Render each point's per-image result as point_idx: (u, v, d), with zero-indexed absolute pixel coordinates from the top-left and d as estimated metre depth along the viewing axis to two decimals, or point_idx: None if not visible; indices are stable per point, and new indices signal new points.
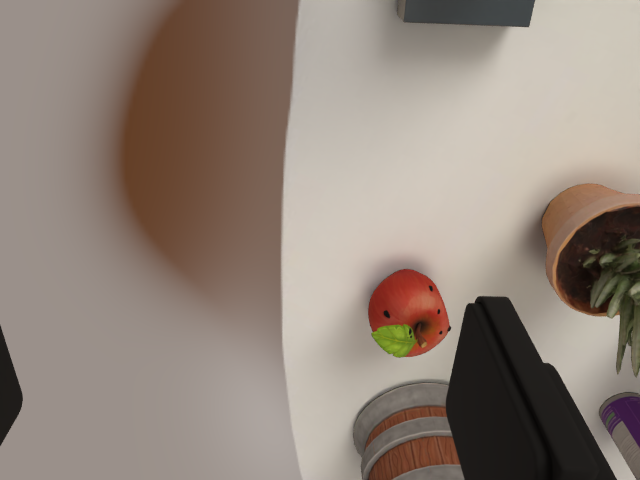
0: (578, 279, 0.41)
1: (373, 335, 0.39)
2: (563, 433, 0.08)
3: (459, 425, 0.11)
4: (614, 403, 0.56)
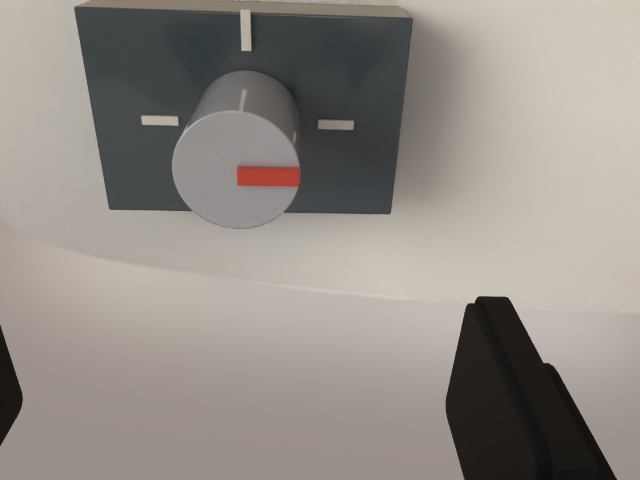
0: None
1: None
2: (563, 433, 0.08)
3: (459, 425, 0.11)
4: None
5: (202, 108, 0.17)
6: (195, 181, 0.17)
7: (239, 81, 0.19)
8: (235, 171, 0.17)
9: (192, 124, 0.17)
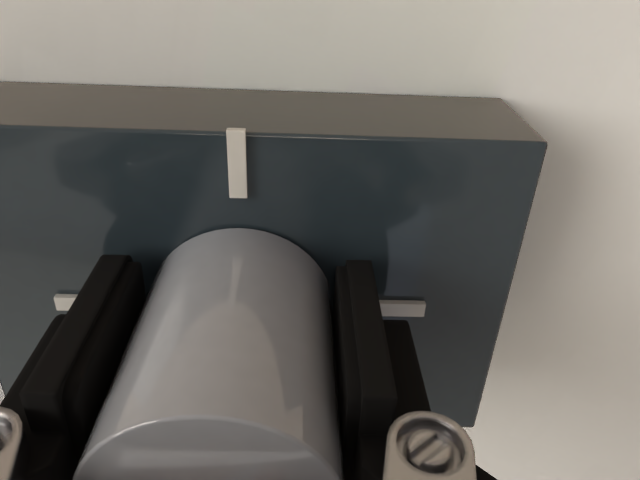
0: None
1: None
2: (376, 369, 0.09)
3: None
4: None
5: (140, 365, 0.08)
6: None
7: (223, 272, 0.10)
8: None
9: (108, 436, 0.07)
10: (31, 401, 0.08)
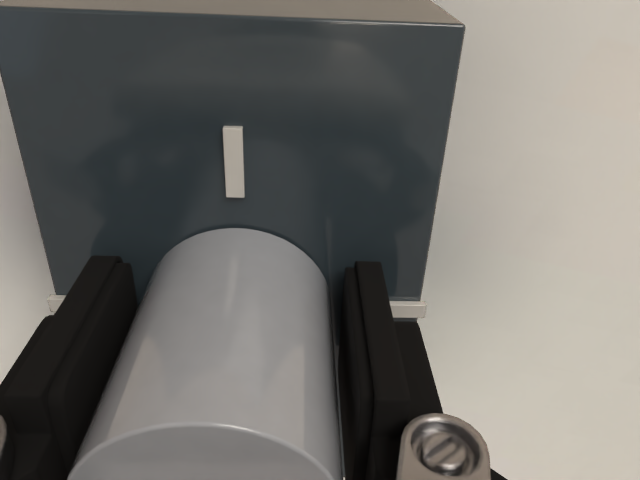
0: None
1: None
2: (389, 371, 0.08)
3: (341, 381, 0.12)
4: None
5: (130, 372, 0.08)
6: None
7: (215, 273, 0.10)
8: None
9: (97, 446, 0.07)
10: (16, 403, 0.08)
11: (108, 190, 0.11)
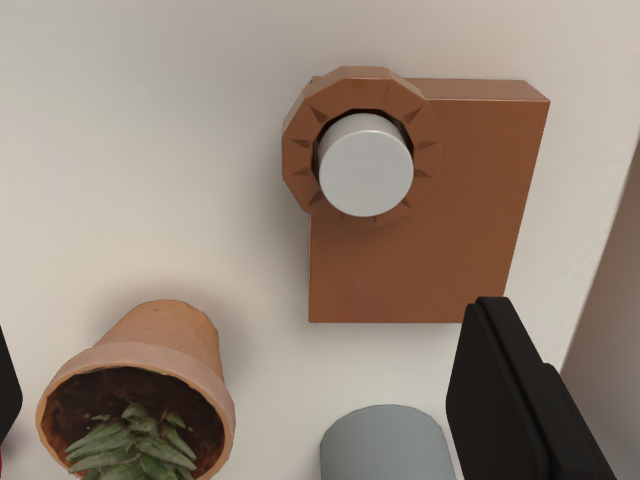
0: None
1: None
2: (564, 433, 0.08)
3: (459, 425, 0.11)
4: None
5: None
6: None
7: None
8: None
9: None
10: None
11: None
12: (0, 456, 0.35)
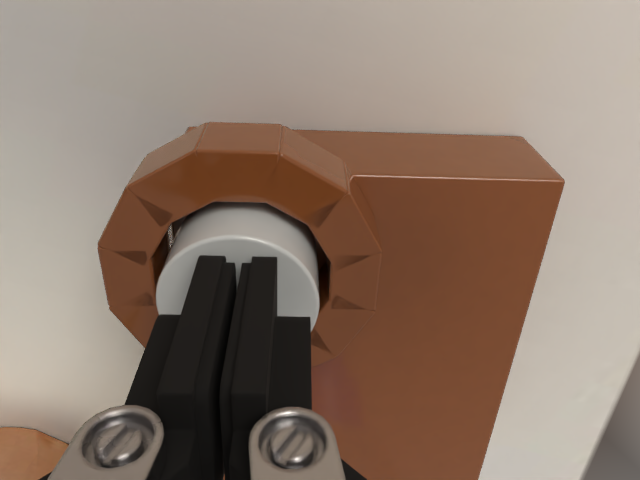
0: None
1: None
2: (251, 365, 0.08)
3: None
4: None
5: None
6: None
7: None
8: None
9: None
10: (167, 400, 0.08)
11: None
12: None
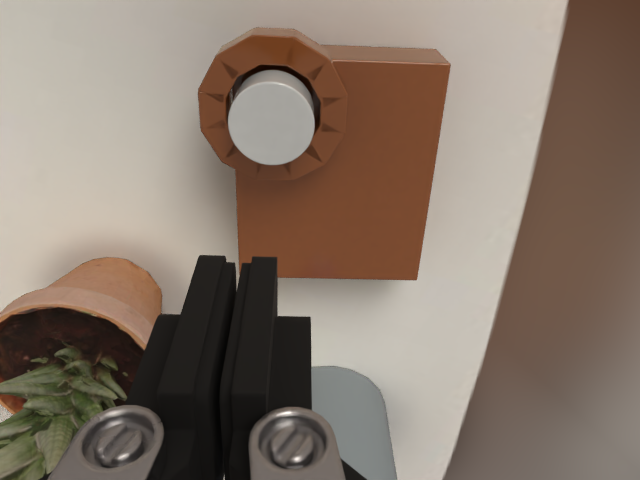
0: None
1: None
2: (251, 365, 0.08)
3: None
4: None
5: None
6: None
7: None
8: None
9: None
10: (167, 400, 0.08)
11: None
12: None
